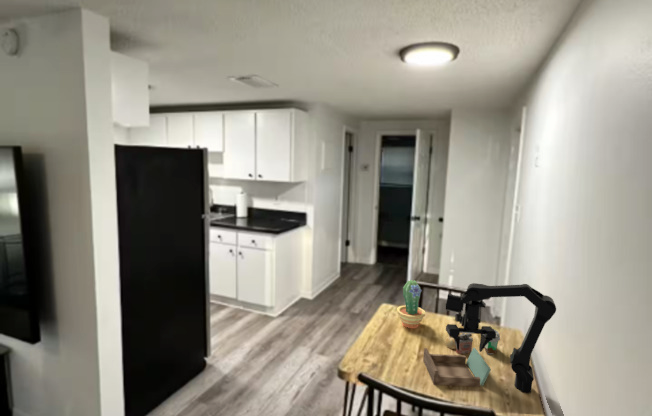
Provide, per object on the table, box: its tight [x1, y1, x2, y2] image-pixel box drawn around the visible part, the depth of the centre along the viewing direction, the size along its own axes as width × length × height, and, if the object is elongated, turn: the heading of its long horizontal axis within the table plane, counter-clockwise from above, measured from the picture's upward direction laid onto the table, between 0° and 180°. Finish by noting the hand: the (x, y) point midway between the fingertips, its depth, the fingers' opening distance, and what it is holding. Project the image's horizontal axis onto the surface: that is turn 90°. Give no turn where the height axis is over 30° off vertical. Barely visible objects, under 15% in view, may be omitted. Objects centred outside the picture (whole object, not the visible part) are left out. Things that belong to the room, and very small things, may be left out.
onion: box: [444, 335, 456, 351], centre depth 173 cm, size 8×8×7 cm
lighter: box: [455, 333, 474, 355], centre depth 167 cm, size 8×3×10 cm, turn 105°
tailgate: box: [465, 347, 492, 386], centre depth 150 cm, size 1×16×8 cm, turn 179°
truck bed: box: [423, 347, 481, 388], centre depth 150 cm, size 18×17×7 cm
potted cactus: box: [396, 279, 426, 329], centre depth 196 cm, size 15×15×25 cm
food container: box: [483, 328, 501, 355], centre depth 170 cm, size 12×6×10 cm, turn 168°
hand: (468, 350), depth 149 cm, fingers open, 9 cm apart
